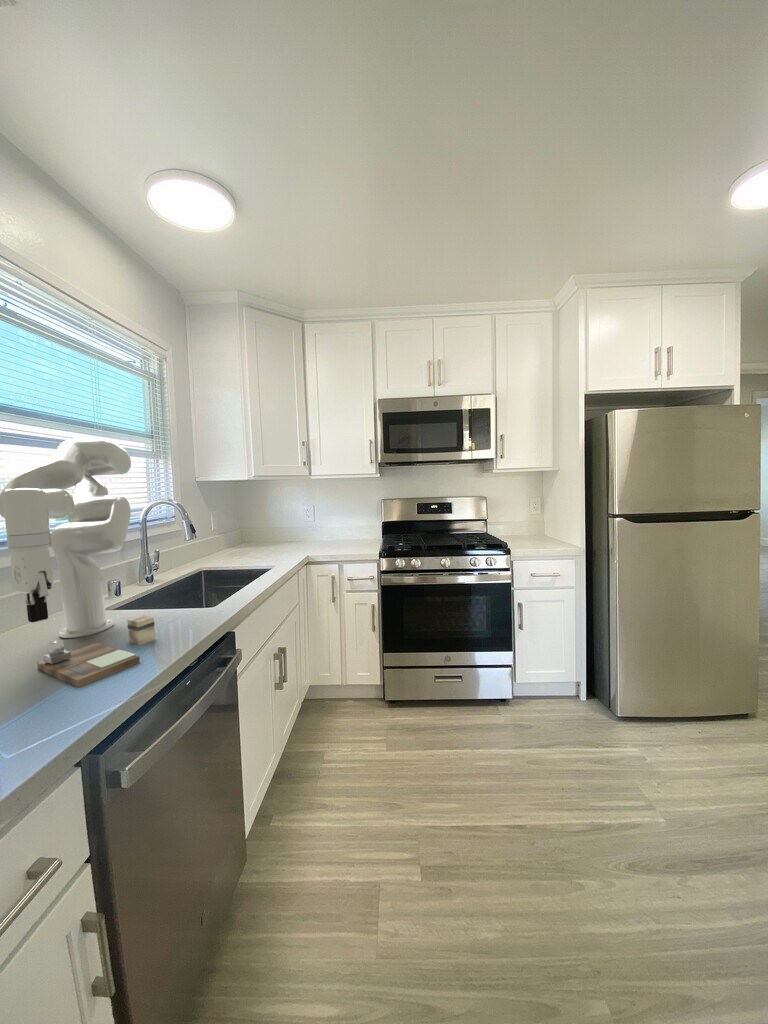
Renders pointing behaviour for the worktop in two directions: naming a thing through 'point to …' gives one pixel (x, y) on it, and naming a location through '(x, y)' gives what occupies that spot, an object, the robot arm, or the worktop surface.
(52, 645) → the silver slider knob
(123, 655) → the pad
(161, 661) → the worktop surface
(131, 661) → the board
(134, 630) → the beige block
